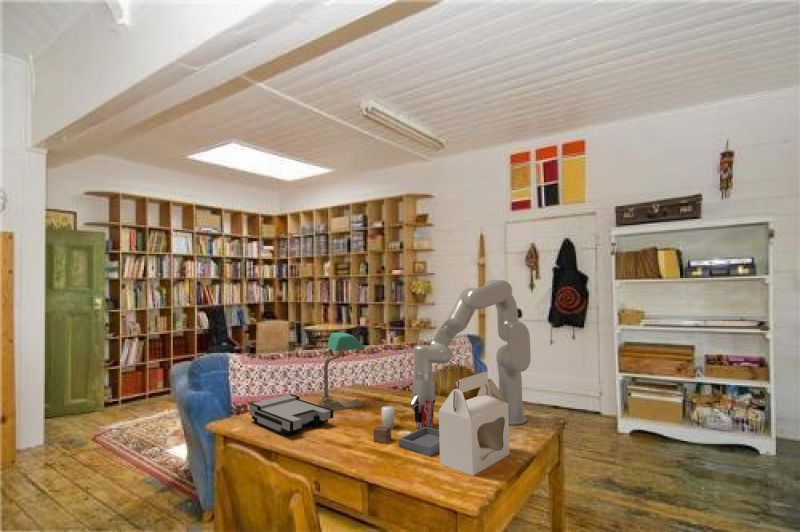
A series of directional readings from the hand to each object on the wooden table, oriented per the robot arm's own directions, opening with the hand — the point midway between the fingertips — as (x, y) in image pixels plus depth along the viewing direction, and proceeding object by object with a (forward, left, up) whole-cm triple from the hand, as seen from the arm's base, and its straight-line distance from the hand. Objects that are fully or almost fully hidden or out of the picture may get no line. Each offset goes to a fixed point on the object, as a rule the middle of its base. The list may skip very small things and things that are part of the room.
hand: (424, 419), depth 177 cm
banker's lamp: (+1, -49, -4) cm, 49 cm away
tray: (+14, +12, -3) cm, 19 cm away
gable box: (+14, +32, -4) cm, 36 cm away
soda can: (0, 0, -4) cm, 4 cm away
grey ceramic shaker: (+9, -12, -3) cm, 15 cm away
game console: (+31, -48, -4) cm, 57 cm away
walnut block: (+21, -4, -3) cm, 22 cm away
